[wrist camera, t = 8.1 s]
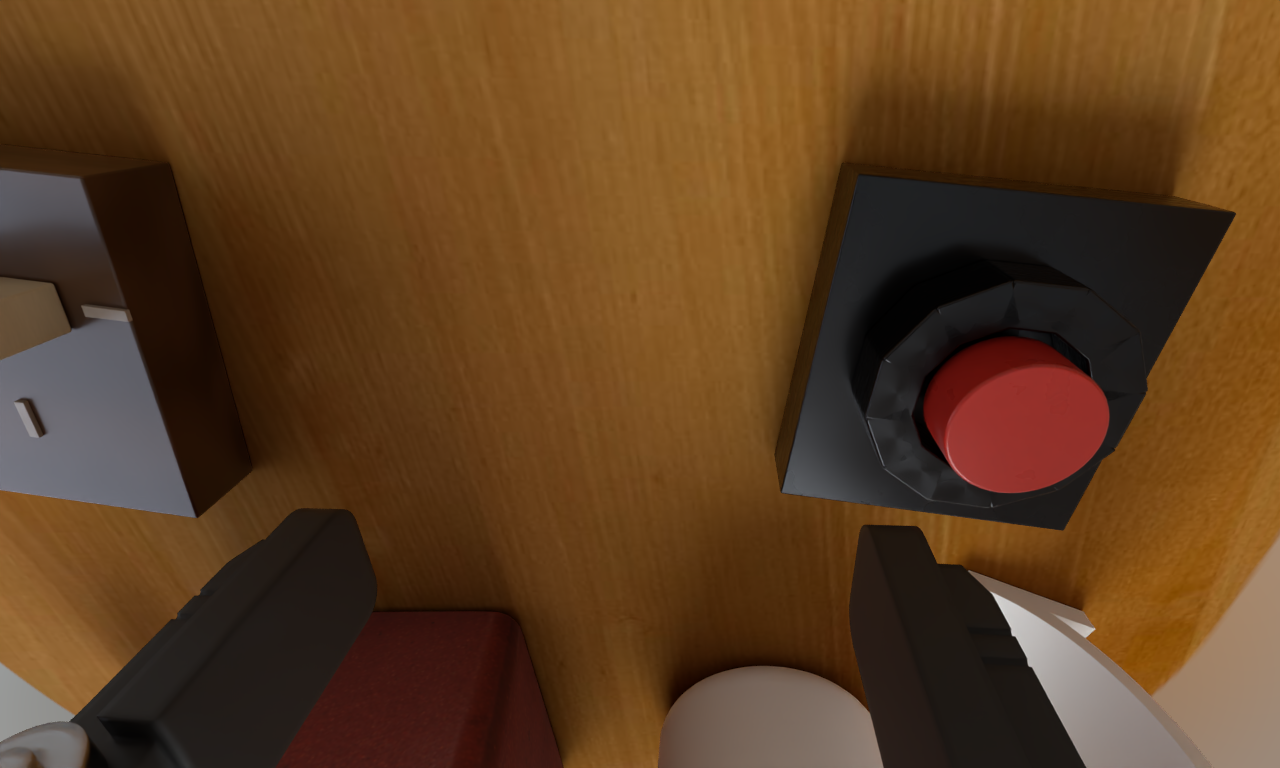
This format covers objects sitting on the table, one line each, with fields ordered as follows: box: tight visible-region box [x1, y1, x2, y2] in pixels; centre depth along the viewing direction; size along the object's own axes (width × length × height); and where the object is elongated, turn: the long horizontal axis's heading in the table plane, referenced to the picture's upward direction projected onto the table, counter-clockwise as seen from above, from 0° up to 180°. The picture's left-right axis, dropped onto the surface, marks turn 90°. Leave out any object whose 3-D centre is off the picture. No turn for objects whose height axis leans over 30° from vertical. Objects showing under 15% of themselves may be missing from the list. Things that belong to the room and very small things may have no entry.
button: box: [923, 336, 1109, 493], centre depth 15 cm, size 4×4×2 cm
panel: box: [0, 144, 252, 518], centre depth 20 cm, size 13×10×3 cm
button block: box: [775, 163, 1236, 530], centre depth 17 cm, size 10×9×4 cm
